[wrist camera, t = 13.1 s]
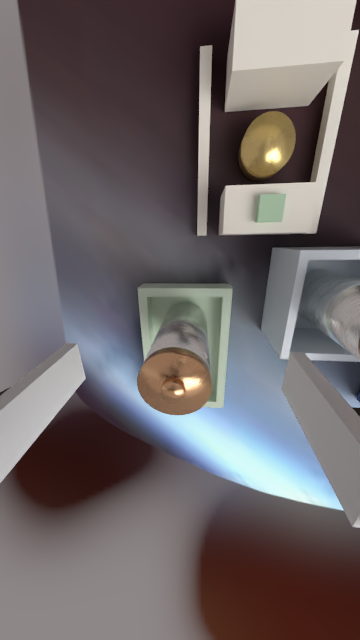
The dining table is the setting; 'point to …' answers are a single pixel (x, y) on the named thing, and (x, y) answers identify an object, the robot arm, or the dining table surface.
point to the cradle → (279, 103)
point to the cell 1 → (178, 363)
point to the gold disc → (266, 146)
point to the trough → (217, 310)
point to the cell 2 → (333, 307)
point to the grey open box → (285, 294)
